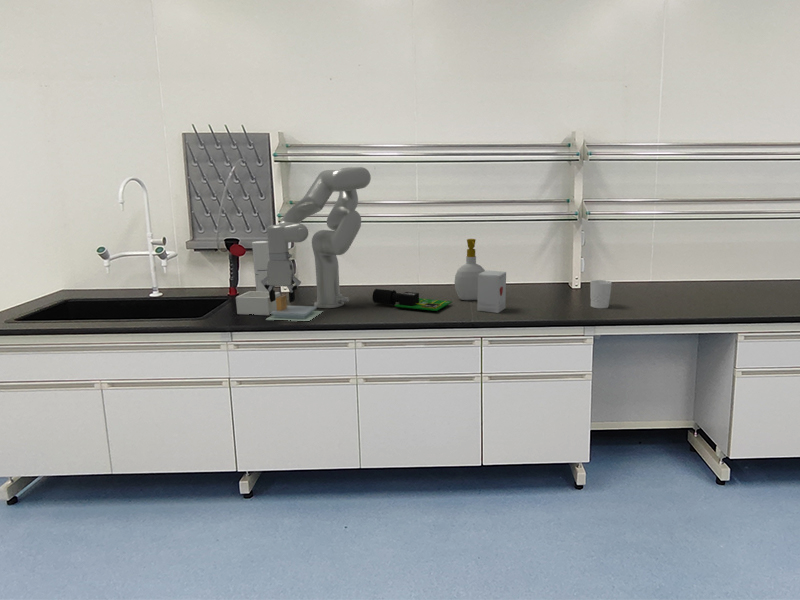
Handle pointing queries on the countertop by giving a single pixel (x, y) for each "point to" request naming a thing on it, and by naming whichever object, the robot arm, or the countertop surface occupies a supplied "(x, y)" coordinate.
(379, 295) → the electronic board model
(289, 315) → the lid
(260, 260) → the tall grey box
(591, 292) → the white cup
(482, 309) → the supplement box
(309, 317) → the mat
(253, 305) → the tub
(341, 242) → the robot arm
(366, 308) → the countertop surface
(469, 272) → the soap bottle
